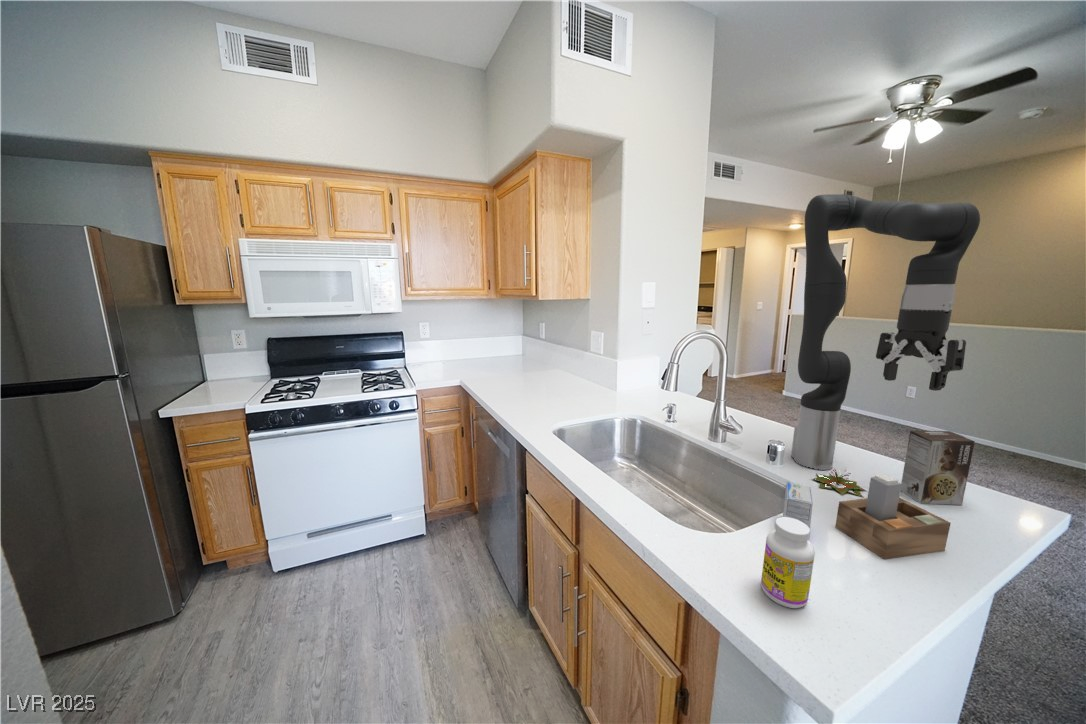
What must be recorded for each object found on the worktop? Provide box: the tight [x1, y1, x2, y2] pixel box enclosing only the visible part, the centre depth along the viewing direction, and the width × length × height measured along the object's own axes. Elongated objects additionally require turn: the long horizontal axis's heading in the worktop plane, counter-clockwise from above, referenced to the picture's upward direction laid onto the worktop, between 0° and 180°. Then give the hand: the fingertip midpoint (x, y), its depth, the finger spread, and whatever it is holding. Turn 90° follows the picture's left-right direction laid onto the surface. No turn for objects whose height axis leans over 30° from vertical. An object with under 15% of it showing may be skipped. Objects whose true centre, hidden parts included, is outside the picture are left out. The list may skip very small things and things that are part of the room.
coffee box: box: [900, 430, 976, 506], centre depth 90 cm, size 9×6×16 cm
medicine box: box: [782, 481, 813, 541], centre depth 79 cm, size 8×4×9 cm, turn 148°
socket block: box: [834, 497, 952, 560], centre depth 76 cm, size 10×14×6 cm
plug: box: [865, 474, 902, 521], centre depth 74 cm, size 3×3×11 cm
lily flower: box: [813, 469, 867, 498], centre depth 97 cm, size 12×12×5 cm
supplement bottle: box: [760, 516, 816, 609], centre depth 61 cm, size 7×7×13 cm
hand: (911, 384), depth 79 cm, fingers open, 8 cm apart
